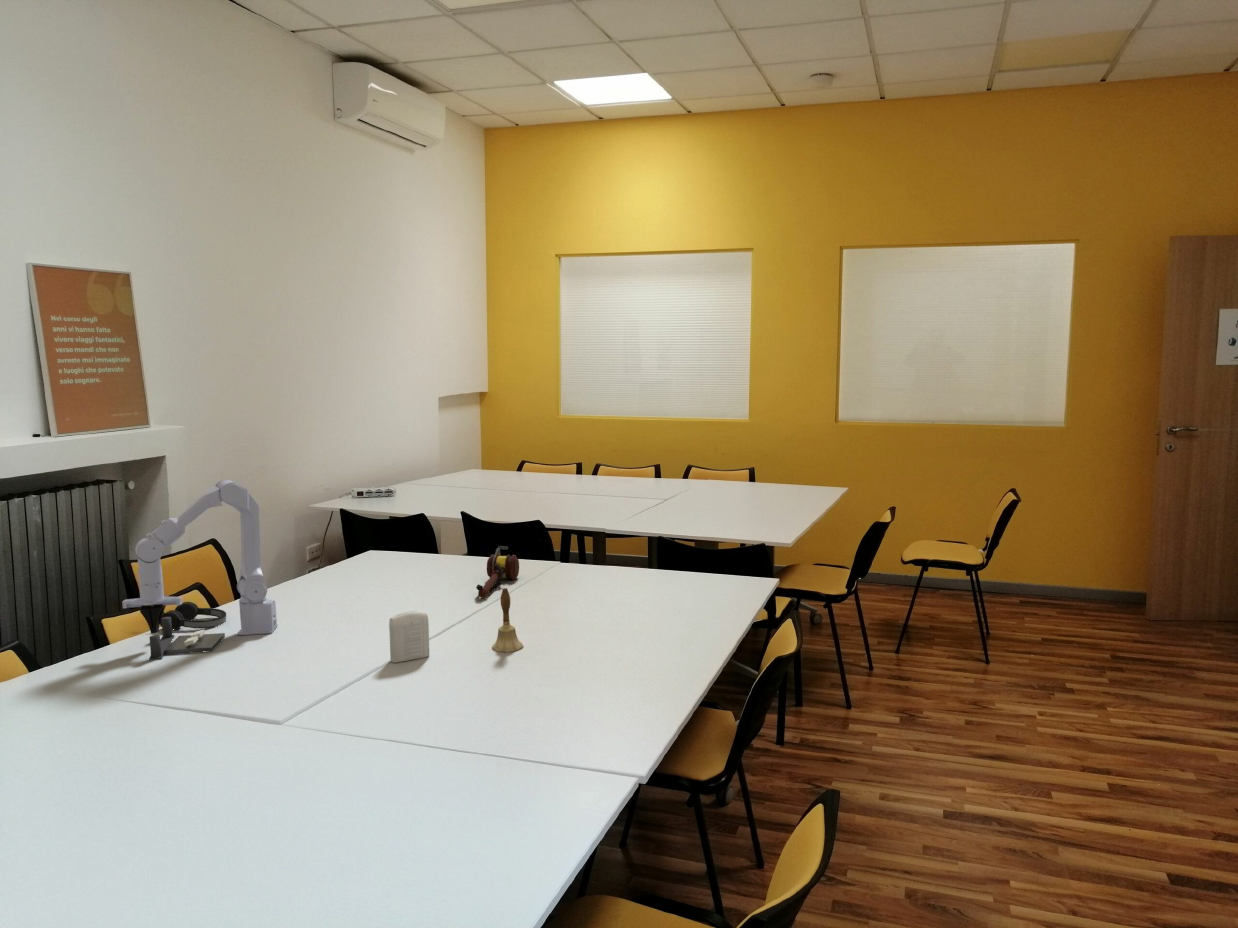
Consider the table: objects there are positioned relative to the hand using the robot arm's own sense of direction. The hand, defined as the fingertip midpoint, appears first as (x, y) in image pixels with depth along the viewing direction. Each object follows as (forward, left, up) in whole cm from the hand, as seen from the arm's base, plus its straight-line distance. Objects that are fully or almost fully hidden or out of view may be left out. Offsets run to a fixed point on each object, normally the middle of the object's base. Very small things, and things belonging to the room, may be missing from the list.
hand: (154, 632), depth 249 cm
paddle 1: (-10, +3, -2) cm, 11 cm away
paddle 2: (-10, -3, -2) cm, 11 cm away
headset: (-3, -23, -5) cm, 23 cm away
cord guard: (-2, 0, -5) cm, 5 cm away
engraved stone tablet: (-69, +23, -5) cm, 73 cm away
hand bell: (-94, +19, -5) cm, 96 cm away
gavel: (-92, -47, -5) cm, 104 cm away
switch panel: (-10, 0, -4) cm, 11 cm away
